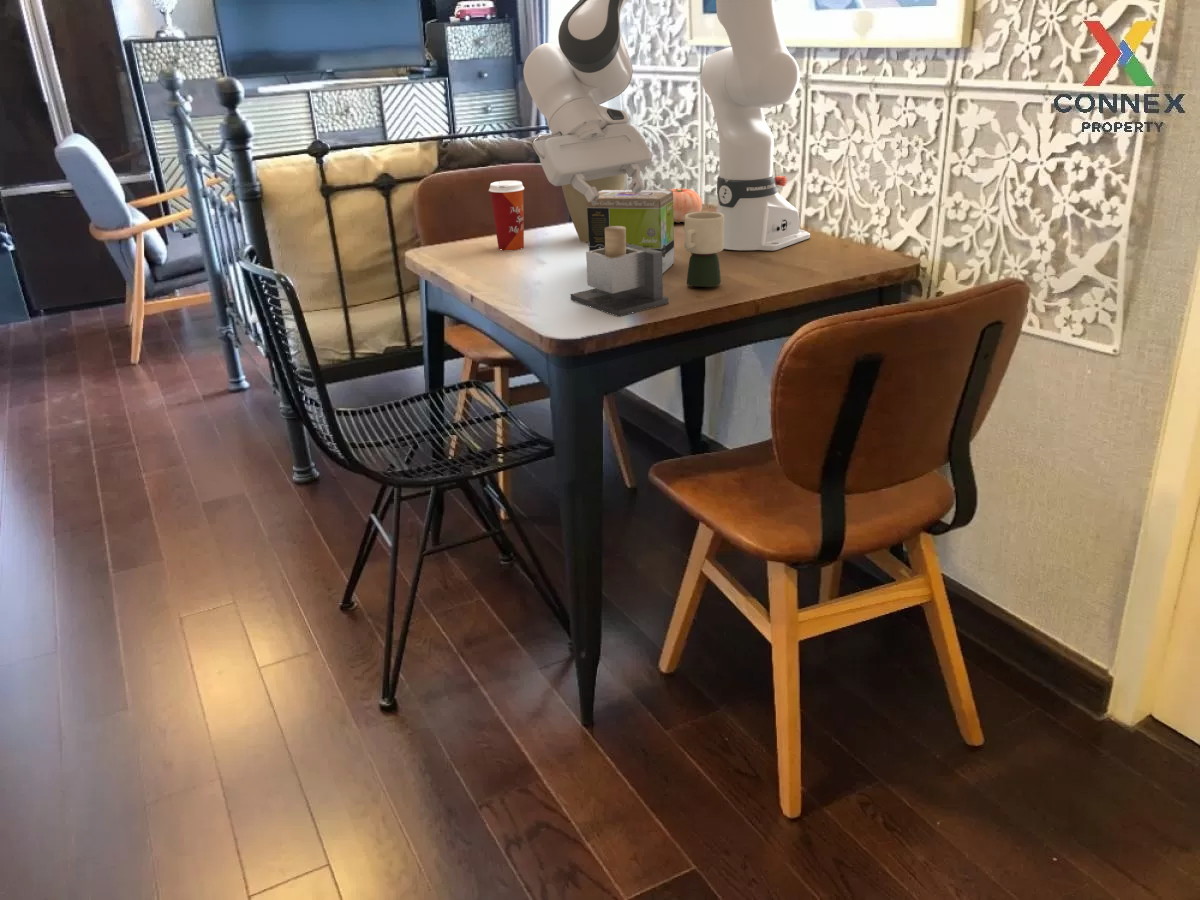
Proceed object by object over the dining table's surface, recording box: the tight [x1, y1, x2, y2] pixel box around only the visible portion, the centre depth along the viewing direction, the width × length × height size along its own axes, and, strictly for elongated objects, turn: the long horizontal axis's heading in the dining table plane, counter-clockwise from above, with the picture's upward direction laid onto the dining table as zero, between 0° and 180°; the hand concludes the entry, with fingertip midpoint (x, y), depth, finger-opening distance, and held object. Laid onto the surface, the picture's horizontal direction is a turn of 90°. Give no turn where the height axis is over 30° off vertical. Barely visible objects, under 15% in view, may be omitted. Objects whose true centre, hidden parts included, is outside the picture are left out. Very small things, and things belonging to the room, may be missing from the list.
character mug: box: [683, 211, 724, 288], centre depth 169 cm, size 11×7×13 cm, turn 140°
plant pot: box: [561, 174, 627, 244], centre depth 207 cm, size 15×15×16 cm
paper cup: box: [488, 180, 525, 251], centre depth 203 cm, size 8×8×14 cm
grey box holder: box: [570, 243, 669, 317], centre depth 163 cm, size 11×14×9 cm
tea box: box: [587, 189, 675, 274], centre depth 183 cm, size 15×10×15 cm
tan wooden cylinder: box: [605, 226, 626, 257], centre depth 161 cm, size 4×4×9 cm
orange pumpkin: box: [669, 187, 703, 224], centre depth 223 cm, size 11×11×8 cm
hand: (617, 194), depth 156 cm, fingers open, 8 cm apart
